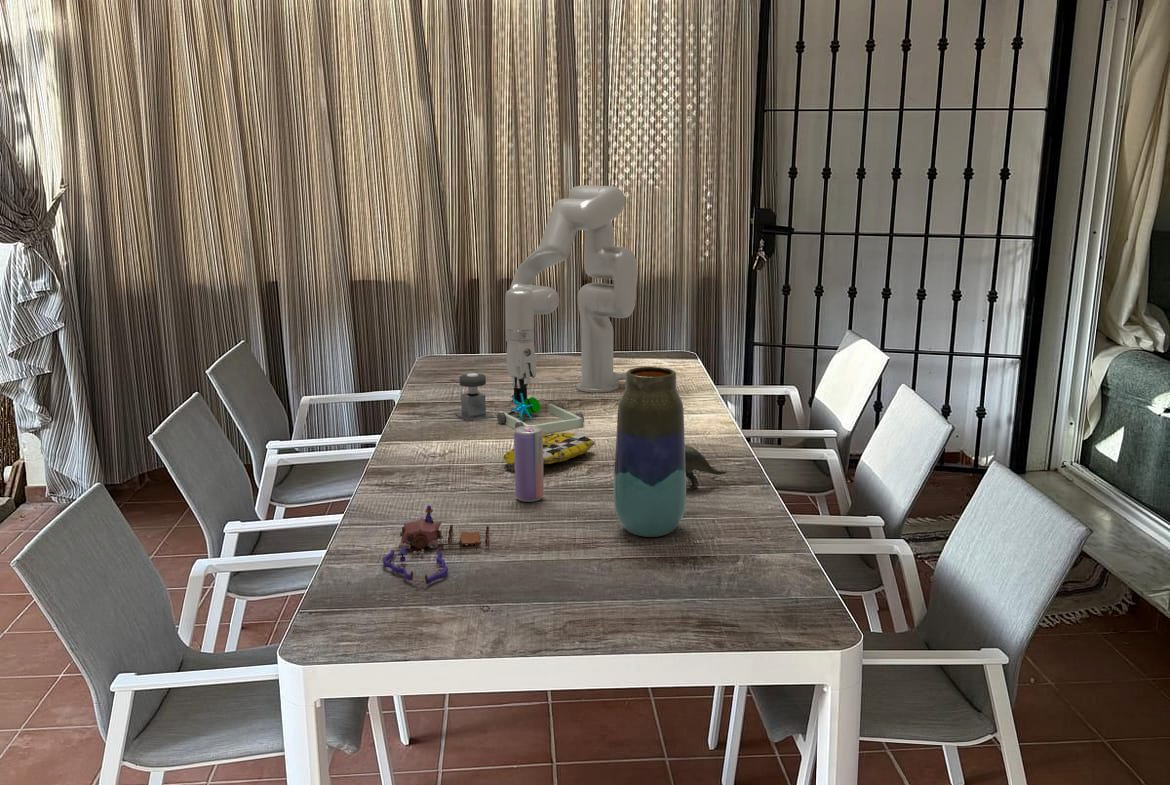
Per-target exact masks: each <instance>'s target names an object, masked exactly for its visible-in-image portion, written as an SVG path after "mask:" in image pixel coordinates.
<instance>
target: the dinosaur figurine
mask: <svg viewBox="0 0 1170 785" xmlns="http://www.w3.org/2000/svg"><path fill="white" fill-rule="evenodd" d="M685 463H686V479H688V480H690V483H691V485H690V486H689V488H688V489H689V490H694V489H696V488H698V486H699V482H698V478H697V477H696V476H695V474H694V473H693V472H694V471H699V472H704V473H708V474H711V475H716V476H717V475H725V474H727V473H728V471H726V470H725V471H724V470H718V469H716V468H714V467H712V466H711V465H710V464H709V462H708V460H707V459H706V458H705V457H704V456H703V455H702V454H701V453H700V452H699V451H698V450H697V449H695V448H694V447H693V446H690V445H687V444H685Z"/></svg>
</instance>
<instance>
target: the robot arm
mask: <svg viewBox="0 0 1170 785" xmlns="http://www.w3.org/2000/svg"><path fill="white" fill-rule="evenodd" d="M625 205H626V198H625V194H624V192H623V190H622V189H620V188H619V187H617V186H613V185H595V184H594V185H593V184H591V185H589V184H585V185H584V184H583V185H575V186H574V187H572V188H571V189H570V190H569V191H568V197H567V198H560V199H558V200H557V201H555V203H553V205H552V208H551V210H550V214H549V217H548V219H547V221H546V222H547V223H546V225H545V228H544V232H543V233H542V237H541V240H540V243H539V245H538V247H537V248H536V249H535V250H534V251H532V253H530V254H529V255H528V256H527V257H526V258H525V259H524V260H523V261H522V262H521V264H520V265H519V266H518V267H517V269H516V271H515V273H514V276H513V279H512V281H511V284H510V288H509V289H508V290H507V291H506V292H505V300H504V301H505V303H504V304H505V307H504V308H505V341H506V342H507V343H506V358H505V359H506V362H505V363H506V372H507V373H508V374H509V375H510V378H511V379H512V385H513V395H514V399H515V400H516V401H518V402H519V403H521V402H522V401H521V395H519V394H520V393H522V395H523V399H524V398H526V399H528V386H529V384H531V382H532V381H531V378H533V379H535V378H536V377H537V360H536V349H535V343H534V341H535V332H534V331H535V318H534V317H535V315H548V314H551V313H553V312H554V311H556V309H558V307H559V304H560V295H559V293H558V291H557V290H555V289H554V288H552V287H550V286H545V285H536V284H533V282H534V280H535V279H536V277H537V276H539V274H540V273H542V272H543V271H544V270H546V269H548V268H551V267H553V266H555V265H558V264H560V263H562V262H563V261H566V260H568V258H569V256H570V252H571V249H572V246H573V244H574V241H575V238H576V235H577V233H578V231H584V248H583V250H584V251H583V253H584V254H583V267H584V271H585V272H584V273H585V274H586V275H587V276H588V277H591V278H594V279H602V280H603V279H605V280H612V281H613V283H612V284H611V283H606V282H605V283H604V282H590V283H586V284H584V285H583V286H581V287H580V288H579V291H578V293H577V306H578V310H579V316H580V317H579V318H580V325H581V326H580V327H581V328H580V330H581V334H580V336H581V337H580V338H581V341H580V342H581V344H580V345H581V346H580V347H581V348H580V349H581V352H580V353H581V355H580V357H581V358H580V359H581V381H580V382H577V383H576V385H575V386H576V389H577V390H579V391H581V392H584V393H595V394H596V393H597V394H598V393H610V392H613V391H617V390H618V389H619V383H618V382H619V381H620V380H621V381H623V380H625V381H626V372H624V373H619V372H616V371H614V327H613V324H612V322H611V319H610V318H616V319H617V318H618V319H626V318H629V317H630V316H631V315H632V314H633V312H634V310H635V307H636V301H637V300H636V299H637V282H638V281H637V280H638V279H637V278H638V262H637V258H636V256H635V253H634V251H632V250H631V249H630V248H628V247H625V246H615V243H614V242H615V241H614V240H615V236H614V234H615V233H614V232H615V229H614V225H613V222H612V221H613V220H615V218H618V217H619V216H620V214H621V213H622V212H623V211H624V209H625Z"/></svg>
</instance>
